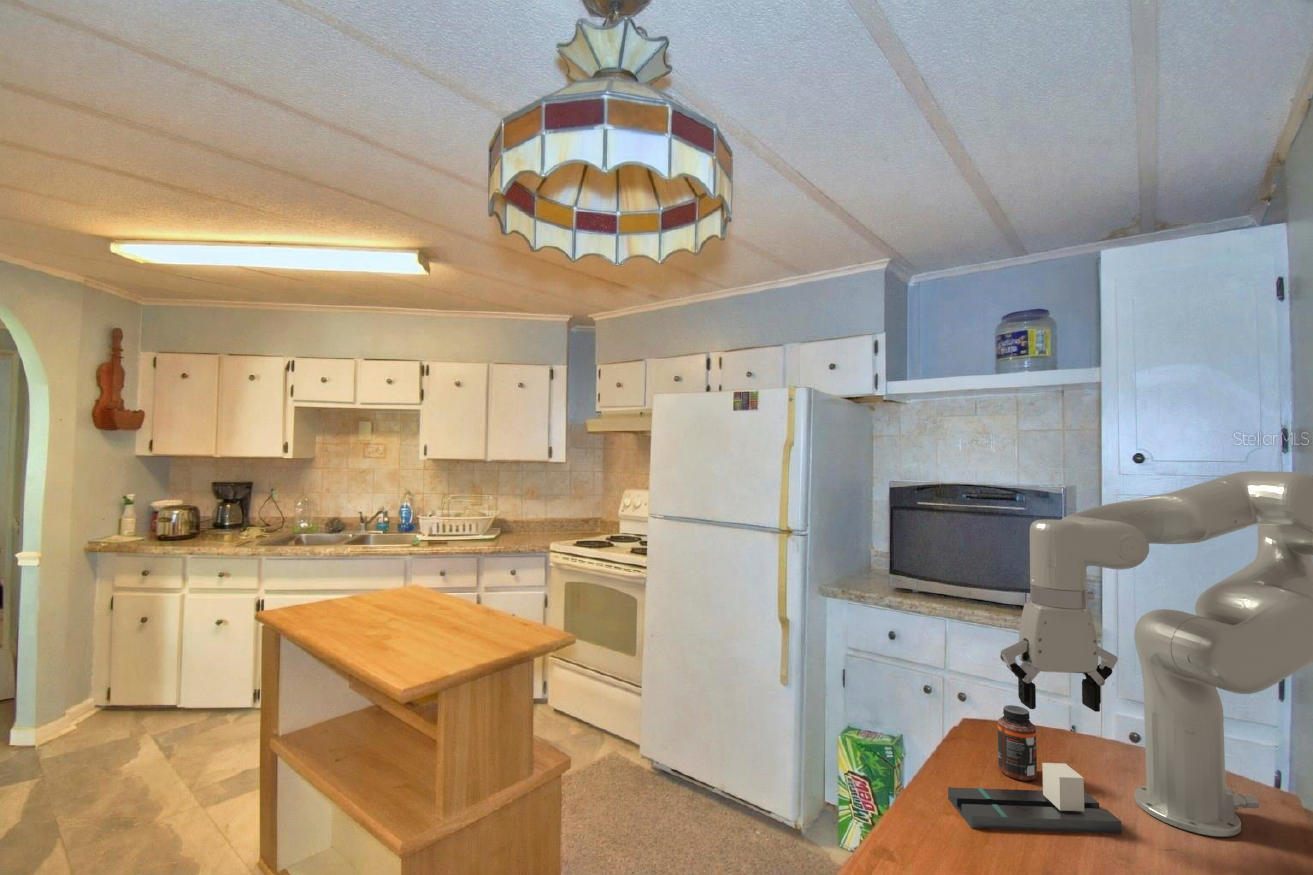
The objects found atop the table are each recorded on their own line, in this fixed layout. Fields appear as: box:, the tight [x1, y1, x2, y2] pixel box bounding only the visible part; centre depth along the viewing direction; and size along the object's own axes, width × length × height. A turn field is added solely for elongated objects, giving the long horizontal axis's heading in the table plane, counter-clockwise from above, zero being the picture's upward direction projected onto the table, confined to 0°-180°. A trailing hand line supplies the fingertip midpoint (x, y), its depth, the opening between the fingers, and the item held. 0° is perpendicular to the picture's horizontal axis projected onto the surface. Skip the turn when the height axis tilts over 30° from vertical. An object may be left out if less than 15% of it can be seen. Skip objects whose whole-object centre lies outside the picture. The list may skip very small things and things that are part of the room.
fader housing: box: [947, 787, 1123, 834], centre depth 94 cm, size 22×8×2 cm, turn 87°
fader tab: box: [1041, 762, 1085, 811], centre depth 94 cm, size 4×4×6 cm
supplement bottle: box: [997, 704, 1038, 782], centre depth 107 cm, size 6×6×11 cm
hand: (1059, 706), depth 94 cm, fingers open, 9 cm apart
